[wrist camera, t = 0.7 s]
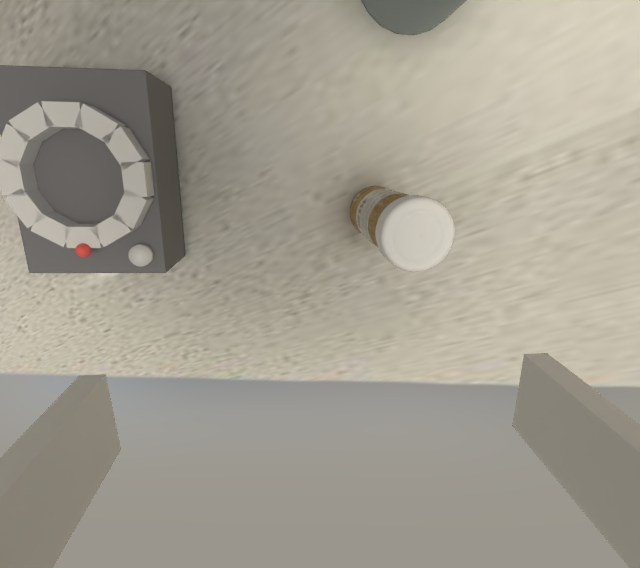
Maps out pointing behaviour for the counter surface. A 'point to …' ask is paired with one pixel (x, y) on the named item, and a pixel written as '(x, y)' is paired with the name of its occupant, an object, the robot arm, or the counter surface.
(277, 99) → the counter surface
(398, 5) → the spray bottle
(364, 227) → the sprinkles bottle
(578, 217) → the counter surface
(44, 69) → the grey block with ring
